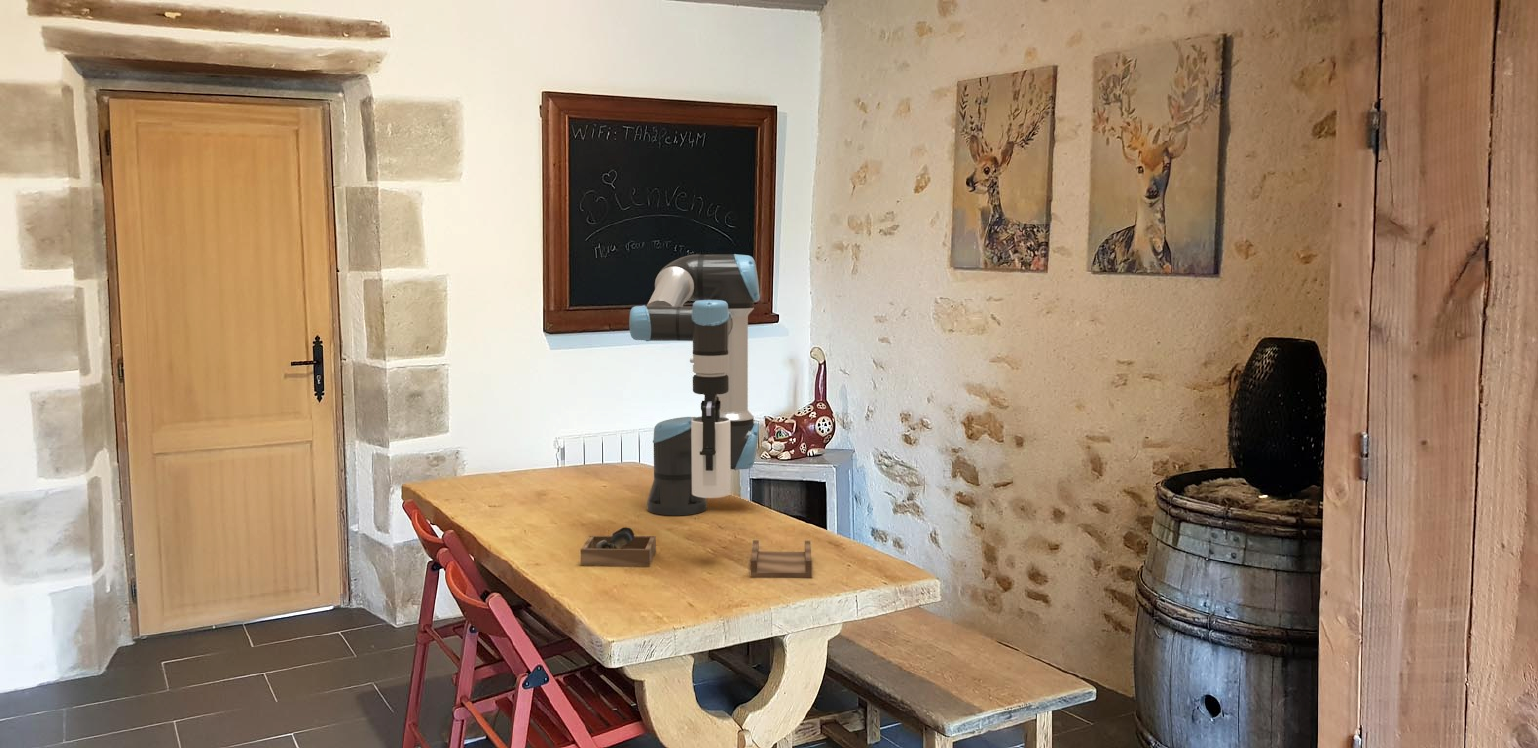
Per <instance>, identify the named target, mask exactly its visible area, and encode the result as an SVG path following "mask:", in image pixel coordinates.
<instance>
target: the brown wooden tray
mask: <svg viewBox="0 0 1538 748" xmlns="http://www.w3.org/2000/svg"><path fill="white" fill-rule="evenodd" d="M759 542H760V541H759V539H753V540H752V547H751V557H750V578H776V579H777V578H778V579H779V578H787V579H790V578H797V579H798V578H799V579H803V578H804V579H805V578H806V579H811V578H812V570H813V568H812V565H813V562H812V561H813V560H812V544H811V540H804V551H771V550H770V551H761V550H760V545H759V544H760V543H759Z"/></svg>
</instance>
